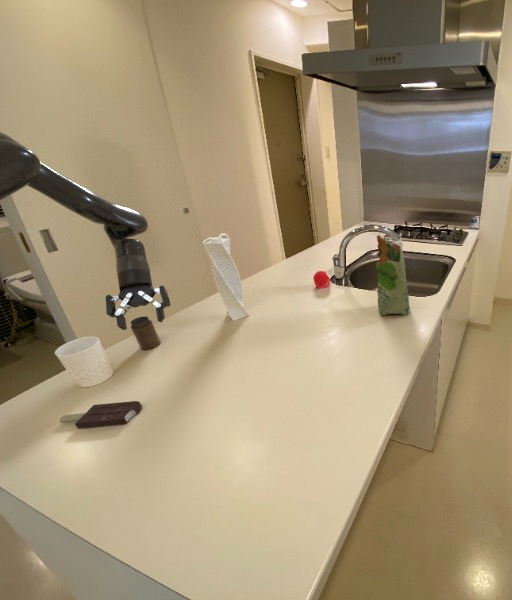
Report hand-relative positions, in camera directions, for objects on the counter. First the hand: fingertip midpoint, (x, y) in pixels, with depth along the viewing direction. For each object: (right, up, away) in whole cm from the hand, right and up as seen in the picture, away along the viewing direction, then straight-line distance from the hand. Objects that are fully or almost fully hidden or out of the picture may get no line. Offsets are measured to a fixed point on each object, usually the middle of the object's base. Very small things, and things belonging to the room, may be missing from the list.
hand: (142, 325), depth 91 cm
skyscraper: (+19, +2, +17) cm, 25 cm away
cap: (+42, +12, +36) cm, 57 cm away
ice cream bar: (+8, -18, -21) cm, 29 cm away
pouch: (+70, +3, +18) cm, 72 cm away
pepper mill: (0, -6, +2) cm, 7 cm away
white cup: (-4, -13, -10) cm, 16 cm away
